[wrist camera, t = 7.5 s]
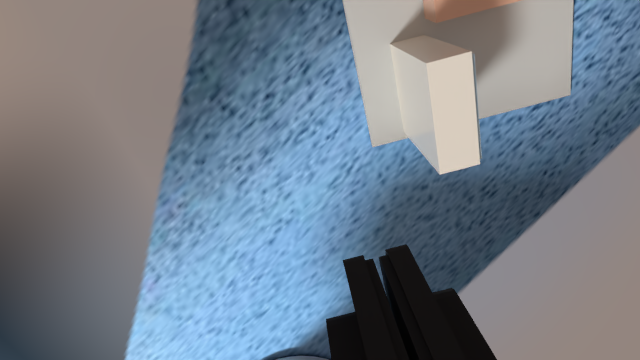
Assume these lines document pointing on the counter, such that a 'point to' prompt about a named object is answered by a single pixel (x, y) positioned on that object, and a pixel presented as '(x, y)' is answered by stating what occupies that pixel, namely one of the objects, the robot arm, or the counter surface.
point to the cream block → (438, 101)
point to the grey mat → (472, 34)
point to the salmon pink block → (458, 8)
